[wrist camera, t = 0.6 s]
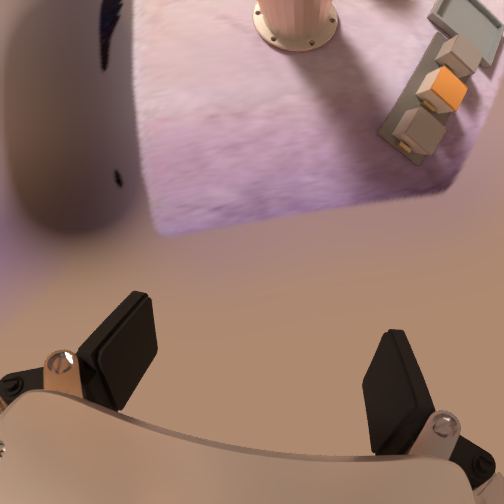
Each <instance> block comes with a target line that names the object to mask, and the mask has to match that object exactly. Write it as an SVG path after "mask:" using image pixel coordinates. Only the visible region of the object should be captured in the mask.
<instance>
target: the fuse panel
mask: <svg viewBox="0 0 504 504" xmlns="http://www.w3.org/2000/svg"><path fill="white" fill-rule="evenodd" d="M446 41H448V40H447V39H446V38H445V37H444V36H442V35H441V34H440V33H439V32H437V33H436V34H435V35H434V37H433V39H432V41H431V43H430V44H429V46H428V48H427V50H426V52H425V53H424V55H423V57H422V59H421V61H420V62H419V64H418V66H417V68H416V69H415V71H414V73H413V75H412V76H411V78H410V80H409V81H408V83H407V85H406V87H405V88H404V90H403V92H402V93H401V95H400V97H399V98H398V100H397V102H396V103H395V105H394V107H393V108H392V110H391V112H390V113H389V115H388V117H387V118H386V120H385V122H384V123H383V125H382V126H381V128H380V130H379V131H378V133H377V134H378V135H379V136H380V137H382V138H383V139H384V140H386V141H387V142H388V143H390V144H391V145H392V146H393V147H395V148H396V149H397V150H398V151H400V152H401V153H402V154H403V155H405V156H406V157H407V158H408V159H410V160H411V161H412V162H413V163H414V164H415V165H417V166H420V164H421V163H422V161H423V159H424V158H425V156H426V155H425V154H418V153H414V152H413V151H412V150H411V149H410V148H409V147H408V146H407V145H405V144H404V143H403V142H402V141H400V140H398V139H397V138H396V137H395V136H393V135H392V133H393V132H394V130H395V128H396V127H397V125H398V123H399V122H400V120H401V118H402V117H403V115H404V113H405V112H406V111H407V110H411V109H415V108H419V107H423V108H424V109H425V110H426V111H428V112H429V113H430V114H431V115H432V116H433V117H434V118H435V119H437V120H438V121H439V122H440V123H441V124H442V125H444V123H445V121H446V119H447V117H448V116H449V114H450V112H446V113H440V114H438V113H437V112H435V108H434V107H433V106H432V105H431V104H429V103H428V102H427V101H426V100H424V101H423V100H422V99H420V98H419V97H418V96H417V95H416V93H417V91H418V89H419V87H420V86H421V84H422V82H423V80H424V79H425V77H426V75H427V74H428V73H430V72H432V71H434V70H436V69H439V68H441V67H443V66H445V67H446V68H447V69H448V70H449V71H450V72H451V73H453V74H454V72H453V71H451V70H450V69H449V68H448V67H447V66H446V65H443V66H441V65H440V64H439V63H438V62H437V61H435V59H436V57H437V55H438V53H439V51H440V49H441V47H442V45H443V43H444V42H446ZM468 76H469V75H467V76H464V77H461V78H458V79H459V80H460V81H461V82H462V83H463V84H465V82H466V80H467V78H468Z"/></svg>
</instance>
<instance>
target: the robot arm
mask: <svg viewBox="0 0 504 504" xmlns="http://www.w3.org/2000/svg"><path fill="white" fill-rule="evenodd" d="M258 14H260V15H258ZM331 21H332V22H334V23H332V22H331ZM253 22H254V26H255V28H256V30H257V32H258V33H259V35H260V36H261V37H262V38H263V39H264V40H265V41H267V42H268V43H269V44H271V45H273V46H275V47H277V48H280V49H283V50H288V51H298V52H301V51H309V50H313V49H316V48H318V47H321V46H323V45H324V44H325V43H327V42H328V41H329V40H330V39H331V38H332V37H333V35H334V33H335V31H336V28H337V25H338V17H337V13H336V10H335V8H334V6H333V5H332V0H257V3H256V5H255V7H254V10H253ZM273 40H276V41H274V42H273ZM310 44H313V46H312V45H310ZM157 350H158V346H157V339H156V332H155V324H154V317H153V308H152V300H151V298H149V297H148V295H147V294H146V293H143V292H138V291H133V292H132V293H131V294H130V295H129V296H128V297H127V298H126V299H125V300H124V301H123V302H122V303H121V304H120V305H119V306H118V307H117V308H116V309H115V310H114V311H113V312H112V313H111V314H110V315H109V316H108V317H107V318H106V319H105V320H104V321H103V323H102V324H101V325H100V326H99V327H98V328H97V329H96V330H95V331H94V332H93V333H92V334H91V335H90V336H89V338H88V339H87V340H86V341H85V342H84V343H83V344H82V345H81V346H80V347H79V349H78V351H77V353H76V354H75V353H73V352H71V351H69V350H58V351H55V352H53V353H51V354H50V355H49V356H48V357H47V358H46V360H45V361H44V367H41V368H37V369H31V370H26V371H20V372H15V373H10V374H7V375H6V376H4V377H3V378H2V379H1V380H0V504H504V477H503V476H502V475H501V473H500V472H498V473H497V474H496V473H495V468H496V465H495V461H494V458H493V457H492V455H491V454H489V453H488V452H487V451H485V450H483V449H482V448H480V447H479V446H477V445H475V444H474V443H472V442H470V441H469V440H467V439H465V438H464V437H462V436H461V435H460V431H461V426H460V423H459V420H458V419H457V417H456V416H455V415H453V414H452V413H451V412H448V411H444V410H439V411H435V408H434V405H433V402H432V399H431V396H430V394H429V391H428V388H427V386H426V383H425V380H424V377H423V375H422V373H421V370H420V367H419V365H418V363H417V361H416V358H415V356H414V353H413V351H412V349H411V346H410V344H409V342H408V339H407V337H406V335H405V332H404V331H403V330H395V329H389V330H388V332H385V333H384V334H383V336H382V338H381V341H380V343H379V346H378V348H377V351H376V353H375V355H374V357H373V359H372V362H371V364H370V366H369V368H368V370H367V373H366V375H365V377H364V379H363V383H362V388H363V394H364V399H365V406H366V413H367V420H368V426H369V435H370V443H371V450H372V452H373V453H375V455H376V456H323V455H306V454H293V453H283V452H274V451H266V450H259V449H252V448H246V447H241V446H235V445H230V444H225V443H220V442H215V441H211V440H206V439H202V438H198V437H194V436H190V435H186V434H182V433H179V432H175V431H172V430H168V429H165V428H162V427H159V426H156V425H152V424H149V423H146V422H144V421H141V420H138V419H135V418H132V417H129V416H126V415H124V414H121V413H118V410H122V409H123V408H124V406H125V405H126V403H127V401H128V400H129V398H130V397H131V395H132V393H133V391H134V390H135V388H136V386H137V385H138V383H139V382H140V380H141V378H142V377H143V375H144V374H145V372H146V370H147V369H148V367H149V365H150V364H151V362H152V361H153V359H154V357H155V356H156V354H157Z"/></svg>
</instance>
